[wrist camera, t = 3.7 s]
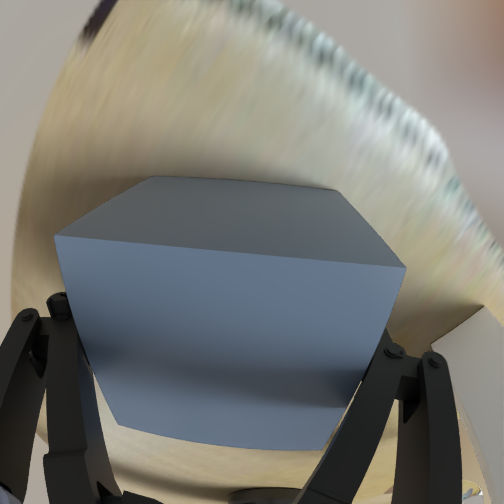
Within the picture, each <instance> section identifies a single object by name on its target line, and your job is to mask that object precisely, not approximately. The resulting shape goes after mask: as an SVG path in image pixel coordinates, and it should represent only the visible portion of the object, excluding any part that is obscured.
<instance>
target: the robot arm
mask: <svg viewBox="0 0 504 504" xmlns="http://www.w3.org/2000/svg"><path fill="white" fill-rule="evenodd" d="M46 304H47V307H48V310H49V313H50V315H51V317H40V316H39V313H38V311H37V310H36V309H34V308H27V309H24V310H22V311H21V312H19V313H18V315H17V316H16V318H15V319H14V321H13V323H12V325H11V327H10V329H9V330H8V332H7V334H6V336H5V338H4V340H3V342H2V344H1V346H0V504H23V502H24V498H25V494H26V490H27V483H28V476H29V468H30V460H31V454H32V448H33V442H34V437H35V432H36V427H37V422H38V418H39V413H40V409H41V405H42V401H43V397H44V393H45V389H46V409H47V431H48V443H49V452H48V454H45V455H44V457H43V467H44V475H45V481H46V487H47V493H48V498H49V503H50V504H163V503H161V502H159V501H157V500H155V499H152V498H149V497H145V496H141V495H138V494H134V493H131V492H128V491H125V490H124V492H123V495H122V493H121V491H120V489H119V487H118V485H117V483H116V481H115V479H114V476H113V473H112V469H111V466H110V462H109V458H108V454H107V450H106V446H105V441H104V437H103V432H102V427H101V422H100V417H99V411H98V406H97V399H96V393H95V386H94V378H93V370H92V368H91V365H90V363H89V360H88V358H87V355H86V352H85V350H84V347H83V344H82V341H81V339H80V336H79V333H78V330H77V327H76V324H75V321H74V317H73V314H72V311H71V308H70V304H69V301H68V297H67V293H66V292H59V293H56V294H54V295H52V296H50V297H49V298H48V299H47V301H46ZM29 353H30V354H29ZM394 399H397V400H399V414H398V442H397V457H396V469H395V479H394V487H393V495H392V502H391V504H462V461H461V447H460V436H459V427H458V419H457V412H456V405H455V399H454V393H453V388H452V382H451V377H450V373H449V368H448V363H447V361H446V359H445V358H444V357H443V356H442V355H441V354H439V353H437V352H434V351H428V352H425V353H424V354H423V356H422V358H421V359H420V358H416V357H411V356H407V355H406V352H405V351H404V349H403V348H402V347H401V346H400V345H398V344H396V343H393V342H392V340H391V338H390V336H389V333H388V331H387V329H386V327H385V329H384V331H383V334H382V336H381V338H380V341H379V343H378V345H377V348H376V350H375V352H374V354H373V356H372V359H371V361H370V363H369V365H368V367H367V369H366V371H365V373H364V376H363V378H362V383H361V385H360V387H359V388H358V390H357V392H356V394H355V396H354V399H353V401H352V403H351V405H350V407H349V409H348V411H347V413H346V415H345V417H344V419H343V421H342V423H341V425H340V427H339V429H338V431H337V432H336V434H335V436H334V438H333V440H332V441H331V443H330V445H329V447H328V448H327V450H326V452H325V454H324V455H323V457H322V459H321V460H320V462H319V464H318V465H317V467H316V468H315V470H314V472H313V473H312V475H311V476H310V478H309V479H308V481H307V482H306V484H305V485H304V487H303V488H302V490H298V489H282V488H268V489H251V490H243V491H238V492H234V493H232V494H230V495H229V502H228V504H352V501H353V498H354V496H355V495H356V493H357V491H358V489H359V487H360V485H361V482H362V480H363V478H364V476H365V474H366V472H367V470H368V467H369V465H370V463H371V461H372V458H373V456H374V454H375V451H376V449H377V446H378V444H379V441H380V439H381V436H382V434H383V431H384V428H385V425H386V423H387V420H388V417H389V414H390V411H391V408H392V405H393V402H394Z"/></svg>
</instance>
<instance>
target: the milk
mask: <svg viewBox="0 0 504 504" xmlns="http://www.w3.org/2000/svg"><path fill="white" fill-rule="evenodd" d="M431 347H432V349H433V351H434V352H437V353H439V354H441V355H442V356H443V357H444V358H445V359H446V361H447V363H448V368H449V373H450V377H451V382H452V388H453V393H454V399H455V405H456V408H457V411H458V413H459V415H460V417H461V420H462V421H463V424H464V427H465V429H466V431H467V434H468V436H469V439H470V441H471V444H472V446H473V449H474V452H475V454H476V457H477V460H478V462H479V465H480V468H481V470H482V474H483V477H484V479H485V483H486V486H487V489H488V492H489V496H490V499H491V503H492V504H504V327H503V326H502V325H501V323H500V322H499V321H498V320H497V319H496V317H495V316H494V315H493V314H492V313H491V311H490V310H489V309H488V308H487V307H486V306H484V307H483V308H481V309H480V310H479V311H478V312H476V313H475V314H474V315H472V316H471V317H470V318H468V319H467V320H466V321H464V322H463V323H461V324H460V325H459V326H457V327H456V328H454V329H453V330H451V331H450V332H449V333H447V334H446V335H444V336H443V337H441V338H440V339H438V340H437V341H435V342H433V343H432V344H431Z"/></svg>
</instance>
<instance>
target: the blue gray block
mask: <svg viewBox="0 0 504 504" xmlns="http://www.w3.org/2000/svg"><path fill="white" fill-rule="evenodd" d="M54 240H55V246H56V251H57V256H58V261H59V265H60V269H61V274H62V278H63V282H64V286H65V290H66V293H67V297H68V301H69V304H70V308H71V311H72V314H73V317H74V321H75V324H76V327H77V330H78V333H79V336H80V339H81V341H82V344H83V347H84V350H85V352H86V355H87V358H88V360H89V363H90V365H91V368H92V370H93V373H94V375H95V377H96V380H97V382H98V384H99V387H100V389H101V391H102V393H103V395H104V398H105V400H106V402H107V404H108V406H109V408H110V410H111V412H112V414H113V416H114V418H115V420H116V422H117V424H118V425H121V426H125V427H128V428H132V429H136V430H140V431H144V432H148V433H152V434H156V435H160V436H165V437H170V438H175V439H180V440H185V441H191V442H197V443H204V444H211V445H218V446H227V447H236V448H247V449H262V450H322V449H323V447H324V446H325V444H326V442H327V441H328V439H329V438H330V436H331V434H332V433H333V431H334V429H335V428H336V426H337V424H338V422H339V421H340V419H341V417H342V415H343V414H344V412H345V410H346V408H347V406H348V405H349V403H350V401H351V399H352V397H353V395H354V393H355V391H356V389H357V388H358V386H359V384H360V382H361V380H362V378H363V376H364V373H365V371H366V369H367V367H368V365H369V363H370V361H371V359H372V356H373V354H374V352H375V350H376V348H377V345H378V343H379V341H380V338H381V336H382V334H383V331H384V329H385V326H386V324H387V321H388V319H389V316H390V314H391V311H392V309H393V306H394V303H395V300H396V298H397V295H398V292H399V289H400V286H401V284H402V281H403V278H404V275H405V272H406V267H405V266H404V264H403V263H402V262H401V261H400V259H399V258H398V257H397V256H396V255H395V253H394V252H393V251H392V250H391V249H390V247H389V246H388V245H387V244H386V243H385V242H384V240H383V239H382V238H381V237H380V236H379V235H378V234H377V232H376V231H375V230H374V229H373V228H372V227H371V226H370V225H369V223H368V222H367V221H366V220H365V219H364V218H363V217H362V216H361V215H360V214H359V212H358V211H357V210H356V209H355V208H354V207H353V206H352V205H351V204H350V203H349V202H348V201H347V200H346V199H345V198H344V197H343V196H342V195H341V193H340V192H339V191H333V190H326V189H318V188H310V187H302V186H293V185H284V184H274V183H263V182H252V181H240V180H227V179H211V178H193V177H170V176H152V177H150V178H148V179H146V180H144V181H142V182H140V183H139V184H137V185H135V186H133V187H131V188H129V189H128V190H126V191H124V192H122V193H120V194H119V195H117V196H115V197H113V198H112V199H110V200H108V201H107V202H105V203H103V204H101V205H100V206H98V207H96V208H95V209H93V210H92V211H90V212H88V213H87V214H85V215H83V216H82V217H80V218H79V219H77V220H76V221H74V222H72V223H71V224H69V225H68V226H66V227H65V228H63V229H62V230H60V231H59V232H57V233H56V234H54Z"/></svg>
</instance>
